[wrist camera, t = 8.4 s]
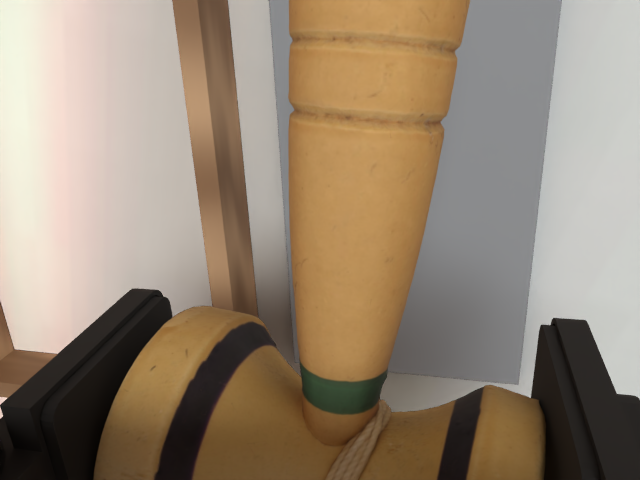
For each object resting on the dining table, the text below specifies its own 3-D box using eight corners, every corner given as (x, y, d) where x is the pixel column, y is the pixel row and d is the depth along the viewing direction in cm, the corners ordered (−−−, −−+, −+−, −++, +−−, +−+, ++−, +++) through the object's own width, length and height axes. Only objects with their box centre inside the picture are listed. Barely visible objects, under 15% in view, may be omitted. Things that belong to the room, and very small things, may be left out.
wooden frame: (265, 391, 31) (246, 428, 28) (4, 361, 35) (-34, 391, 32) (213, -147, 21) (177, -169, 19) (-139, -106, 25) (-211, -119, 22)
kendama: (164, -147, 11) (172, 600, 15) (-69, -462, 4) (64, 936, 9) (573, -121, 10) (452, 621, 15) (901, -408, 4) (528, 976, 9)
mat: (517, 377, 27) (518, 384, 26) (297, 356, 29) (294, 362, 29) (570, -102, 19) (573, -105, 19) (268, -76, 22) (263, -78, 21)
